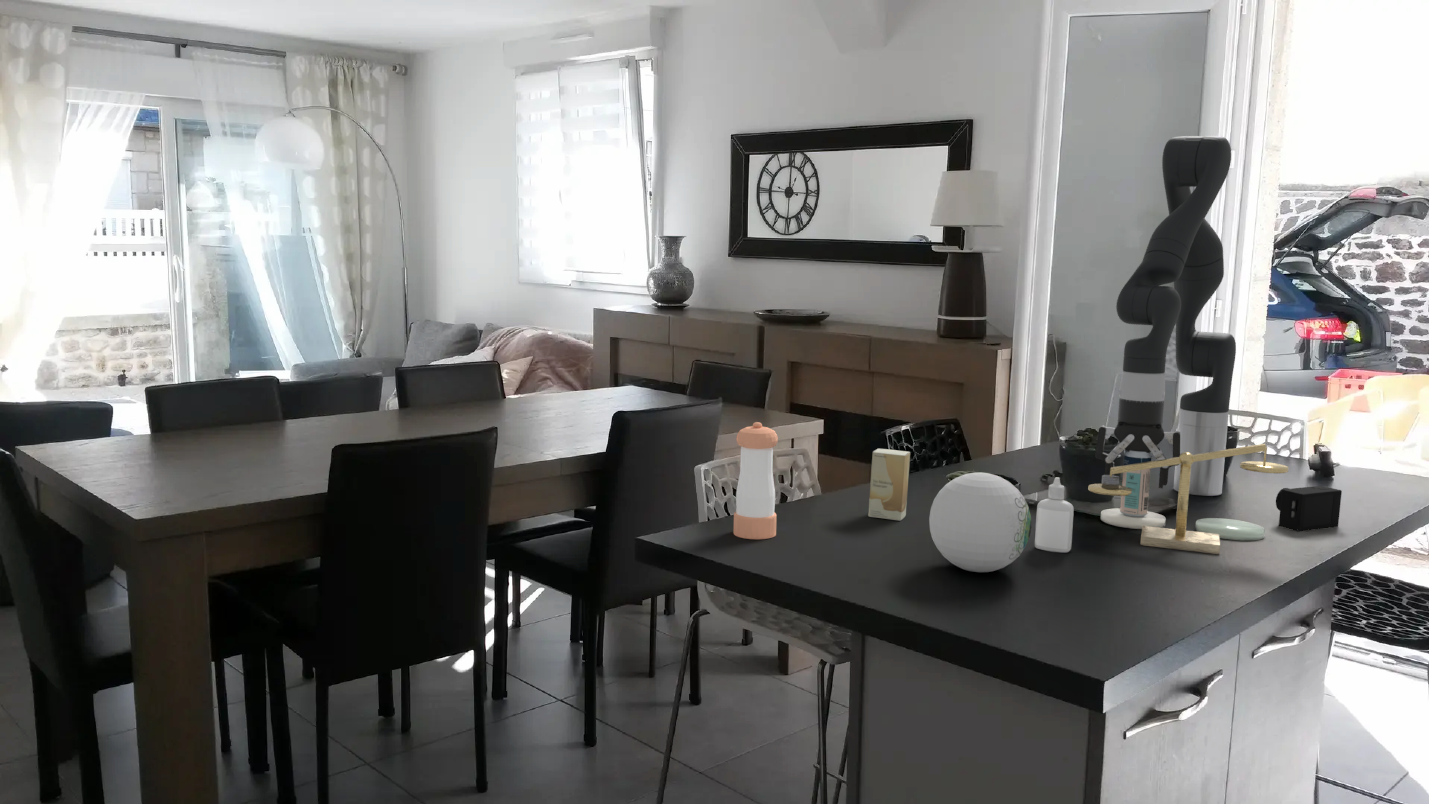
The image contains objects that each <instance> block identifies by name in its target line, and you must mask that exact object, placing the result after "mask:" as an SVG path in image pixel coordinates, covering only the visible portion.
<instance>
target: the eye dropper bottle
mask: <svg viewBox="0 0 1429 804" xmlns="http://www.w3.org/2000/svg"><path fill="white" fill-rule="evenodd" d="M1060 479H1061V478H1060V477H1055V478H1054V480H1053V483H1051V484H1049V485H1048V495H1047V498H1045V499H1042V500H1040V501H1039V502H1038V503H1037V506H1036V518H1035V532H1034V533H1035V534H1034V535H1035V536H1034V547H1035V548H1036V549H1037V550H1041V551H1045V552H1052V553H1062V554H1063V553H1064V554H1067V553H1069V552H1070V551H1071V550H1072V542H1073V525H1074V509H1075V508H1074V506H1073V504H1072V503H1070V502H1069V501H1067V500H1064V499H1065V486H1064V485H1062V483H1061V480H1060Z"/></svg>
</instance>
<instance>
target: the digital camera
mask: <svg viewBox="0 0 1429 804" xmlns="http://www.w3.org/2000/svg"><path fill="white" fill-rule="evenodd" d="M1342 491H1343V490H1342V489H1337V488H1333V487H1328V486H1323V485H1315V486H1314V485H1313V486H1305V487H1303V486H1302V487H1294V488H1289V487H1284V488H1281V489H1280V490H1279V491H1278V493H1277V495H1276V497H1275V507H1276V509H1277V510H1278V511H1279V518H1278V519H1279V520H1278V527H1279V528H1284V529H1287V530H1291V531H1295V532H1299V533H1302V532H1309V531H1316V530H1325V529H1331V528H1333V529H1334V528H1338V527H1339V523H1340V522H1339V519H1340V513H1341V512H1340V511H1341V501H1342V494H1343V492H1342Z"/></svg>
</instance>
